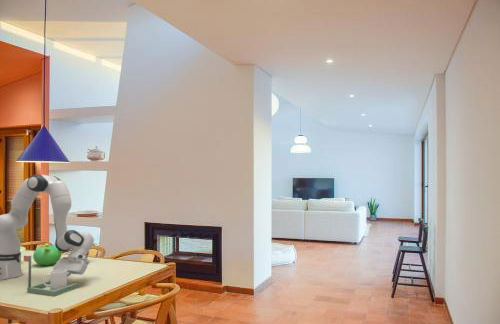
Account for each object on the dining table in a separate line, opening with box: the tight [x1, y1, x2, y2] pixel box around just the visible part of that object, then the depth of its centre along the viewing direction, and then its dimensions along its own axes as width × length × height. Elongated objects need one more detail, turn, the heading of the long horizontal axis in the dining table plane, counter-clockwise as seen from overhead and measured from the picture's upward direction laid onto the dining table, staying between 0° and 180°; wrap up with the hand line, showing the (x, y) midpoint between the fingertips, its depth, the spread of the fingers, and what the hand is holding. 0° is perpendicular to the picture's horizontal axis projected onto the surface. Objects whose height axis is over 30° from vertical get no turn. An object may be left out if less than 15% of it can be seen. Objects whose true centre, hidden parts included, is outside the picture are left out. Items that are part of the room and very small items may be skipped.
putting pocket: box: [23, 255, 80, 297], centre depth 223 cm, size 18×23×20 cm
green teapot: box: [32, 242, 62, 266], centre depth 281 cm, size 18×17×15 cm
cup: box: [42, 269, 68, 290], centre depth 223 cm, size 8×12×10 cm
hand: (62, 279), depth 229 cm, fingers closed, pressing on cup
